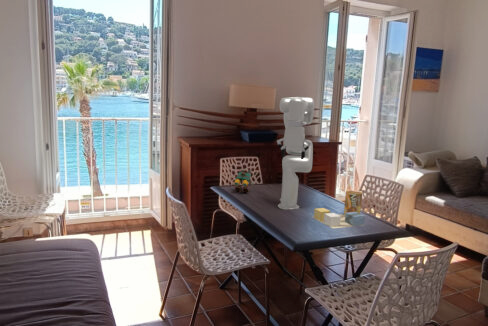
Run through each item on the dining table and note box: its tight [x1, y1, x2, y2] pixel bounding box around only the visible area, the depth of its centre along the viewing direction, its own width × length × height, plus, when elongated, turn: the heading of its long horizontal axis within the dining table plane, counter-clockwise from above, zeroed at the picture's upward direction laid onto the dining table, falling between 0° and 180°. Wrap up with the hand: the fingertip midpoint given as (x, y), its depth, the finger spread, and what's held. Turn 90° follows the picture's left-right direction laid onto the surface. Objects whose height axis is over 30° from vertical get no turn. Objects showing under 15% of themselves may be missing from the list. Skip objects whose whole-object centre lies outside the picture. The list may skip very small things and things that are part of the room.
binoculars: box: [233, 169, 255, 194], centre depth 263 cm, size 14×14×15 cm
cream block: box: [322, 212, 341, 227], centre depth 200 cm, size 6×6×5 cm
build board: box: [312, 212, 366, 229], centre depth 206 cm, size 19×20×6 cm
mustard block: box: [313, 207, 331, 222], centre depth 208 cm, size 6×6×5 cm
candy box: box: [343, 189, 363, 216], centre depth 217 cm, size 9×4×15 cm, turn 75°
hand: (292, 158), depth 194 cm, fingers open, 9 cm apart
